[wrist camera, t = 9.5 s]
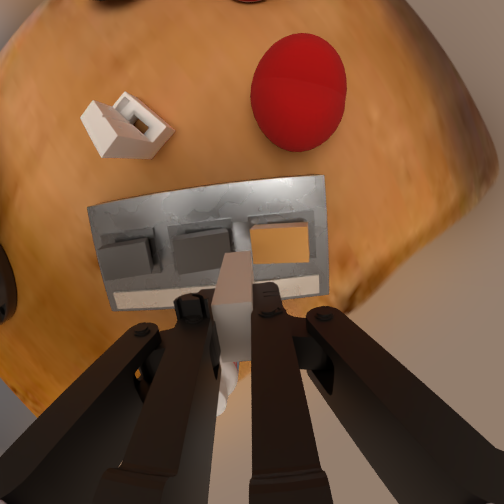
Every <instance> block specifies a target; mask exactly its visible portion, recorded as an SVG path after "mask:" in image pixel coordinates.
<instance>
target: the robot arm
mask: <svg viewBox="0 0 504 504" xmlns="http://www.w3.org/2000/svg"><path fill="white" fill-rule="evenodd" d="M16 303H17V294H16V286H15V281H14V277H13V273H12V270H11V267H10V264H9V261H8V259H7V257H6V255H5V253H4V251H3V249H2V247H1V245H0V325H1V324H3V323H4V322H6V321H7V320H8V319H9V318H11V317H12V316H13V314H14V312H15V309H16ZM173 303H174V307H175V311H176V315H177V319H178V321H177V323H176V325H175V328H172V329H169V330H165V331H160V332H159V329H158V326H157V325H156V324H154V323H146V322H144V323H139V324H137V325H135V326H133V327H131V328H130V329H129V330H128V331H126V332H125V333H124V334H123V335H122V336H121V337H120V338H119V339H118V340H117V341H116V342H115V343H114V344H113V345H112V346H111V347H110V348H108V349H107V350H106V351H105V352H104V353H103V354H102V355H101V356H100V357H99V358H98V359H97V360H96V361H95V362H94V363H93V364H92V365H91V366H90V367H89V368H88V369H87V370H86V371H85V372H84V373H82V374H81V375H80V376H79V377H78V378H77V379H76V380H75V381H74V382H73V383H72V384H71V385H70V386H69V387H68V388H67V389H66V390H65V391H64V392H63V393H62V394H61V395H60V396H59V397H58V398H57V399H56V400H55V401H54V402H53V403H52V404H51V405H50V406H49V407H48V408H47V409H46V410H45V411H44V412H43V413H42V414H41V415H40V416H39V417H38V418H37V419H36V420H35V421H34V422H33V423H32V424H31V426H29V427H28V428H27V430H26V431H25V432H24V433H23V434H22V435H21V436H20V437H19V438H18V439H17V440H16V441H15V442H14V443H13V444H12V445H11V446H10V447H9V448H8V449H7V450H6V452H5V453H4V454H3V455H2V456H1V457H0V504H208V493H209V492H208V491H209V482H210V472H211V461H212V453H213V452H212V451H213V443H214V433H215V423H216V415H217V406H218V397H219V388H220V380H221V371H222V370H221V365H220V354H221V359H222V363H226V362H240V361H251V392H252V393H251V394H252V478H251V479H250V484H249V504H333V500H332V495H331V490H330V486H329V482H328V478H327V475H326V473H325V471H323V470H322V469H321V466H320V461H319V456H318V451H317V447H316V442H315V437H314V433H313V428H312V423H311V418H310V414H309V409H308V405H307V400H306V396H305V391H304V387H303V382H302V378H301V373H300V369H306V370H307V373H308V376H309V377H310V379H311V380H312V381H313V383H314V384H315V386H316V387H317V389H318V390H319V392H320V393H321V395H322V396H323V398H324V399H325V400H326V402H327V404H328V405H329V406H330V408H331V409H332V411H333V412H334V413H335V415H336V417H337V418H338V419H339V421H340V422H341V424H342V425H343V427H344V428H345V429H346V431H347V432H348V434H349V435H350V437H351V438H352V439H353V441H354V442H355V444H356V445H357V447H358V448H359V449H360V451H361V452H362V453H363V455H364V456H365V458H366V459H367V460H368V462H369V463H370V465H371V466H372V468H373V469H374V470H375V472H376V473H377V475H378V476H379V477H380V479H381V480H382V481H383V483H384V484H385V486H386V487H387V488H388V490H389V491H390V492H391V494H392V495H393V496H394V498H395V499H396V500H397V502H398V503H399V504H504V451H502V450H499V449H497V448H495V447H494V446H493V445H492V444H491V443H489V442H488V441H487V440H486V439H485V438H484V437H483V436H482V435H481V434H480V433H479V432H477V431H476V430H475V429H474V428H473V427H472V426H471V425H470V424H469V423H468V422H466V421H465V420H464V419H463V418H462V417H461V416H460V415H459V414H457V413H456V412H455V411H454V410H453V409H452V408H451V407H450V406H449V405H447V404H446V403H445V402H444V401H443V400H442V399H441V398H440V397H439V396H437V395H436V394H435V393H434V392H433V391H432V390H430V389H429V388H428V387H427V386H426V385H425V384H424V383H422V381H420V380H419V379H418V378H417V377H416V376H415V375H414V374H413V373H411V372H410V371H409V370H408V369H407V368H405V366H403V365H402V364H401V363H400V362H399V361H398V360H397V359H395V358H394V357H393V356H392V355H391V354H390V353H389V352H387V351H386V350H385V349H384V348H383V347H382V346H381V345H379V344H378V343H377V342H376V341H375V340H374V339H372V338H371V337H370V336H369V335H368V334H367V333H366V332H364V331H363V330H362V329H361V328H360V327H358V326H357V325H356V324H355V323H354V322H353V321H352V320H350V319H349V318H348V317H347V316H346V315H345V314H343V313H342V312H341V311H340V310H338V309H336V308H333V307H329V306H326V307H325V306H321V307H316V308H314V309H311V310H310V311H309V312H307V315H306V318H299V317H293V316H290V315H288V314H287V313H286V310H285V309H284V308H283V305H282V300H281V296H280V292H279V287H278V285H277V284H275V283H274V282H265V283H255V284H254V276H253V268H252V259H251V250H250V251H241V252H231V253H225V255H224V258H223V262H222V266H221V269H220V273H219V277H218V281H217V284H216V288H211V289H201V290H200V291H199V292H198V293H188V294H184V295H181V296H179V297H177V298H176V299H175V300H174V301H173ZM137 369H139V371H140V374H141V375H140V377H139V378H138V379H137V378H136V376H135V372H136V371H137ZM121 462H122V464H121ZM120 464H121V465H120ZM119 465H120V466H119Z"/></svg>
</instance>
